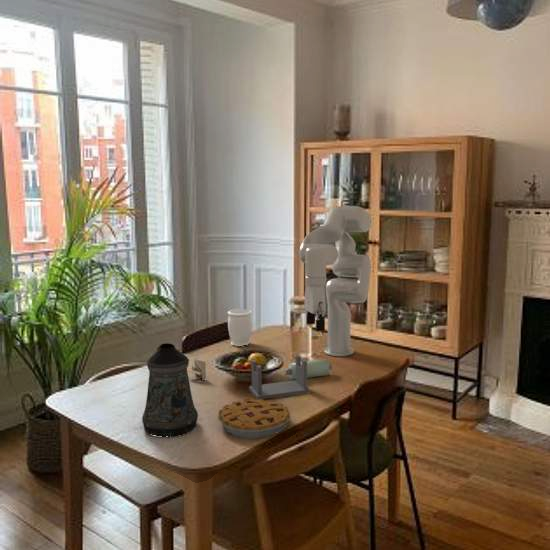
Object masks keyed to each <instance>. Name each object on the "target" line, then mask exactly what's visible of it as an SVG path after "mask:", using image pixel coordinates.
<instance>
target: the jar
mask: <svg viewBox="0 0 550 550" xmlns="http://www.w3.org/2000/svg"><path fill="white" fill-rule="evenodd" d="M252 313H253V312H252V310H250V309H246V308H245V309H244V308H237V309H231V310H227V316H228V319H227V329H228V330H227V331H228V334H229V338H230V340H231V342H230V345H231V346H233V345H237V346H239V345H247V344H249V343H251V342H250V339H251V336H252V330H253V322H252V316H251V315H252ZM249 345H250V344H249ZM237 346H236V347H237ZM247 346H248V345H247Z"/></svg>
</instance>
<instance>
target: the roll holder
mask: <svg viewBox="0 0 550 550" xmlns="http://www.w3.org/2000/svg"><path fill="white" fill-rule="evenodd" d="M301 359H302V357H301V355H299V354H295V363H296V379H294V380H288V381H280V382H273V383H272V382H271V383H265V384H262V383H263V382H262V381H263V378H262V376H263V374H262V371H263V370H262V366H261V365H257V361H256V359H251V360H250V361H251V385H249V388H248V389H249V391H250V393H251V394H252V395H253V397H255V398H256V399H263V400H266V399H265V398H267V399H274V398H280V397H279V396H282V397H287V396H288V395H289V396H295V395H302V394H301V393H303V394H309V393H308V392H310V393H311V389H310V388H309V387H308V378H307V360H306V359H302V360H301ZM301 362H302V366H301ZM289 396H288V397H289ZM273 397H274V398H273ZM256 399H255V400H256Z"/></svg>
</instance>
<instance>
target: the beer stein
mask: <svg viewBox="0 0 550 550" xmlns="http://www.w3.org/2000/svg"><path fill="white" fill-rule="evenodd" d="M146 365H147V366H146V367H147V369H148V372H149V374H148V382H147V383H148V384H147V394H146V401H145V408H144V412H143V413H142V418H141V419H142V420H141V421H142V425H143V429H144V431H145V430H146V431H145V432H146V434H148V433H149V434H152V435H156V436H162V437H166V436H168V437H167V438H173V437H172V436H177V437H180V436H179V435H181V436H184V435H183V434H185V435H188V434H189V433H191V432H192V431H193V430H194V428H195V429H196V425H197V423H198V422H197V421H198V418H199V414H198V411H197V409H196V407H195V404H194V399H193V395H192V390H191V384H190V383H191V382H190V379H189V373H188V371H187V370H188V368H189V365H190V359H189V358H188V356H187V355H186V354H184V353H182V352H181V351H180V350H178V349H177V348H176V347H175V345H174V344H173V343H168V342H166V343H161V344H160V345H159V346H158V347H157V348H156V351H155V352H154V354H152V355H151V356H150V357H149V358H148V360H147V362H146ZM192 429H193V430H192ZM191 430H192V431H191ZM190 431H191V432H190ZM188 432H189V433H188ZM187 433H188V434H187ZM149 434H148V435H149ZM170 436H171V437H170ZM162 437H161V438H162Z"/></svg>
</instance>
